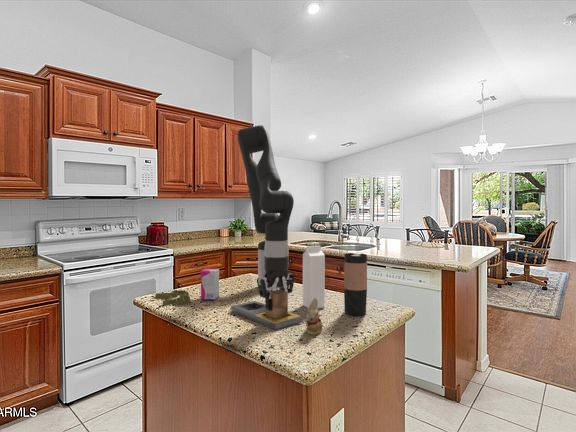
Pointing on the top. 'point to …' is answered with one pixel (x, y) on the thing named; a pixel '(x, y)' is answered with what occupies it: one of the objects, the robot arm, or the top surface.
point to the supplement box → (210, 284)
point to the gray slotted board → (260, 316)
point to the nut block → (278, 305)
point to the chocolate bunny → (313, 319)
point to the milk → (313, 276)
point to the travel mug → (355, 284)
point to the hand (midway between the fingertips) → (276, 308)
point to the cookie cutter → (181, 300)
